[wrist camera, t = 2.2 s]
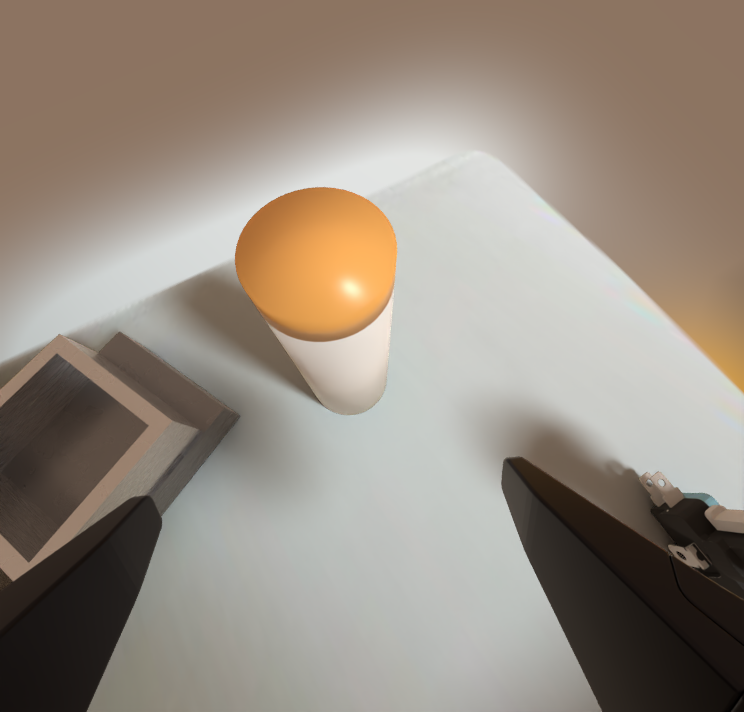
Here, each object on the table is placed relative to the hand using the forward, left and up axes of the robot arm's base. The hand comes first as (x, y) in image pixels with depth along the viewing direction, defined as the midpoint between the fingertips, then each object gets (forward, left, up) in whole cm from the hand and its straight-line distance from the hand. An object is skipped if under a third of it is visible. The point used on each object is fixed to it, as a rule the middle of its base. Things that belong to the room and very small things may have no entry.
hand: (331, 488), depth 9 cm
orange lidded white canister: (+5, +4, -13) cm, 15 cm away
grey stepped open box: (-7, +13, -13) cm, 20 cm away
